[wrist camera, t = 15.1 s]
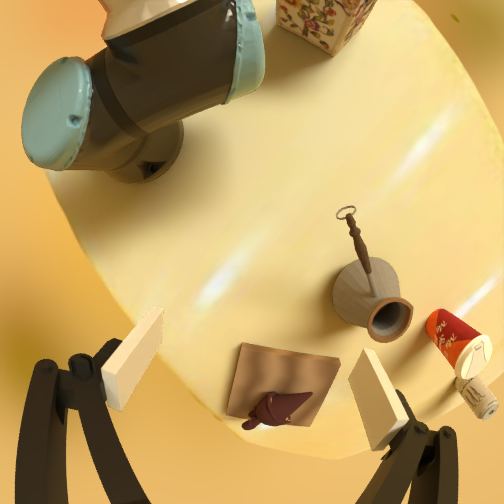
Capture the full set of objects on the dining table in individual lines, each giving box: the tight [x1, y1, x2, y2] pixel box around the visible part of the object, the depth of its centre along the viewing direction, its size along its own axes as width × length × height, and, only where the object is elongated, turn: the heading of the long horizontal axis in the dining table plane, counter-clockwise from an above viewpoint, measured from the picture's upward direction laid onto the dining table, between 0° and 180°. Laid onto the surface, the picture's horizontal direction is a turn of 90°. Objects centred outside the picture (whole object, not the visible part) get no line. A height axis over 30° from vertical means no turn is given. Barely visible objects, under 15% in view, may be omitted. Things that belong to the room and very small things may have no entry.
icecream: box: [242, 391, 313, 430], centre depth 43 cm, size 7×7×15 cm
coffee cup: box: [426, 309, 492, 379], centre depth 36 cm, size 8×8×15 cm
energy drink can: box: [455, 375, 498, 421], centre depth 39 cm, size 6×6×15 cm
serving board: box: [226, 342, 341, 427], centre depth 47 cm, size 18×18×2 cm
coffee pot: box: [332, 206, 413, 343], centre depth 34 cm, size 21×12×15 cm, turn 30°
